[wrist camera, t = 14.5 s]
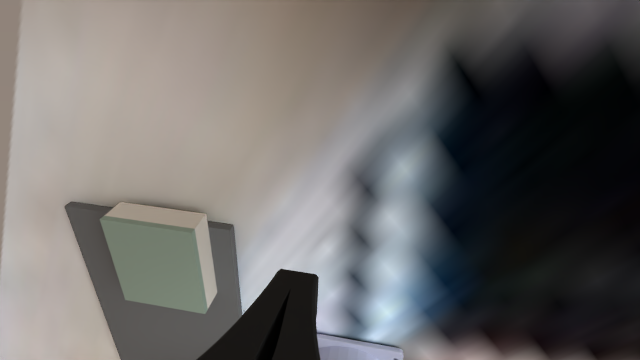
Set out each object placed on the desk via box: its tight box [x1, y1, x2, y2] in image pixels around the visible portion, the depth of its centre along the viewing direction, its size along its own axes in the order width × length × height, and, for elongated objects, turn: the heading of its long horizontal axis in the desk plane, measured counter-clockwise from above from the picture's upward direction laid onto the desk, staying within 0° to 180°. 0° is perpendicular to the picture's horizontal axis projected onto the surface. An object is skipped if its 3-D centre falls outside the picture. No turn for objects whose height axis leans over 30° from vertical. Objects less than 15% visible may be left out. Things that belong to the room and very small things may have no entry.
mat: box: [65, 202, 242, 360], centre depth 30 cm, size 20×12×1 cm, turn 177°
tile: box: [100, 202, 217, 314], centre depth 25 cm, size 7×2×6 cm
